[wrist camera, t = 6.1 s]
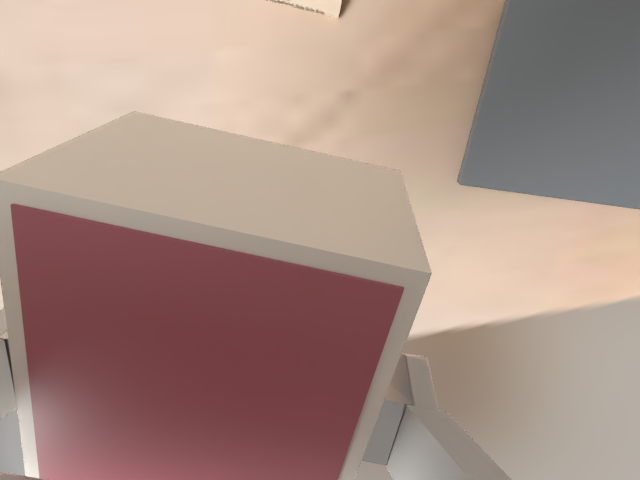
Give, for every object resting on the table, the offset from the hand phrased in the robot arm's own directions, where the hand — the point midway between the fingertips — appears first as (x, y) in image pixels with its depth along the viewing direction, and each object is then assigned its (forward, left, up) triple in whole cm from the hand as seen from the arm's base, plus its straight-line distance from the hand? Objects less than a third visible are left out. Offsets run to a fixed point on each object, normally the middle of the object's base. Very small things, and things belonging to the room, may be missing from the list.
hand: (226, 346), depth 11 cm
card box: (0, 0, -2) cm, 2 cm away
